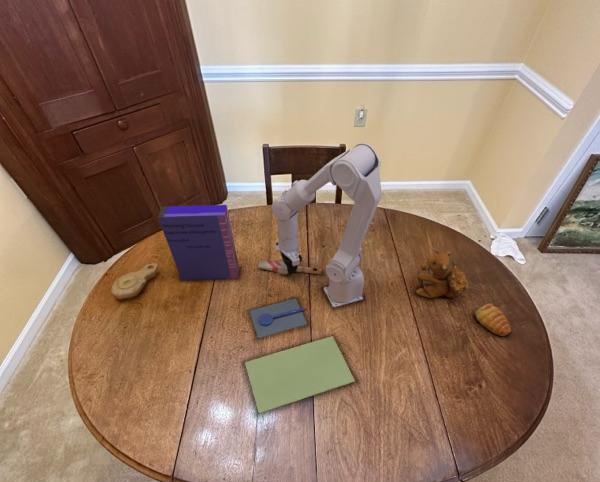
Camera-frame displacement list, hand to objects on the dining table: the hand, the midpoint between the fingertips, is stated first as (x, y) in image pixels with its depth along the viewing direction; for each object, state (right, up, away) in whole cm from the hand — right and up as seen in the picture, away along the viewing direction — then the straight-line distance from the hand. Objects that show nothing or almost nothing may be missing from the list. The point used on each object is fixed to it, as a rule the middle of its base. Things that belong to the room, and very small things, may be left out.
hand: (289, 267), depth 110 cm
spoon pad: (-3, -15, -12) cm, 19 cm away
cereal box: (-25, -2, +1) cm, 25 cm away
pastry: (+56, -16, -14) cm, 60 cm away
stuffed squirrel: (+45, -7, -5) cm, 46 cm away
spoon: (-2, -14, -12) cm, 19 cm away
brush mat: (+3, -27, -23) cm, 36 cm away
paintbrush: (0, -1, +1) cm, 2 cm away
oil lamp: (-46, -6, -3) cm, 47 cm away
